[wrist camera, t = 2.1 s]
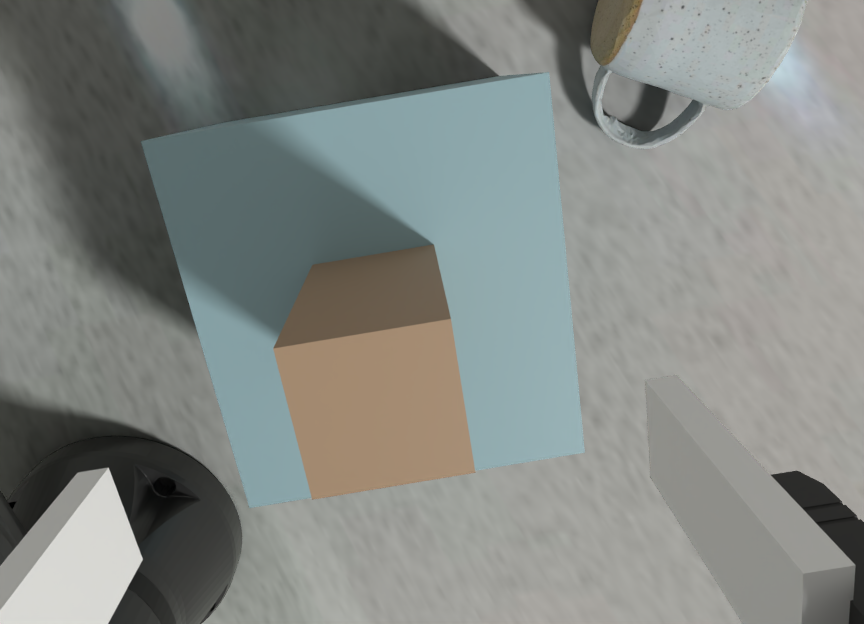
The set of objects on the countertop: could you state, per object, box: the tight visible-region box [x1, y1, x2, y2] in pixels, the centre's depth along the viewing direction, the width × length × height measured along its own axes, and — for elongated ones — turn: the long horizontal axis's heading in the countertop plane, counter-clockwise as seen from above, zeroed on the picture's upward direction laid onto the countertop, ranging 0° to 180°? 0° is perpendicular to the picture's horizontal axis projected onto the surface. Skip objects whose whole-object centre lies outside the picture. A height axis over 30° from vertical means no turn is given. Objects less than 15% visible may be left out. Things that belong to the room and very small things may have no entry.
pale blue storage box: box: [141, 72, 585, 508], centre depth 29 cm, size 16×17×22 cm
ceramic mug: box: [590, 0, 808, 149], centre depth 33 cm, size 11×8×8 cm
